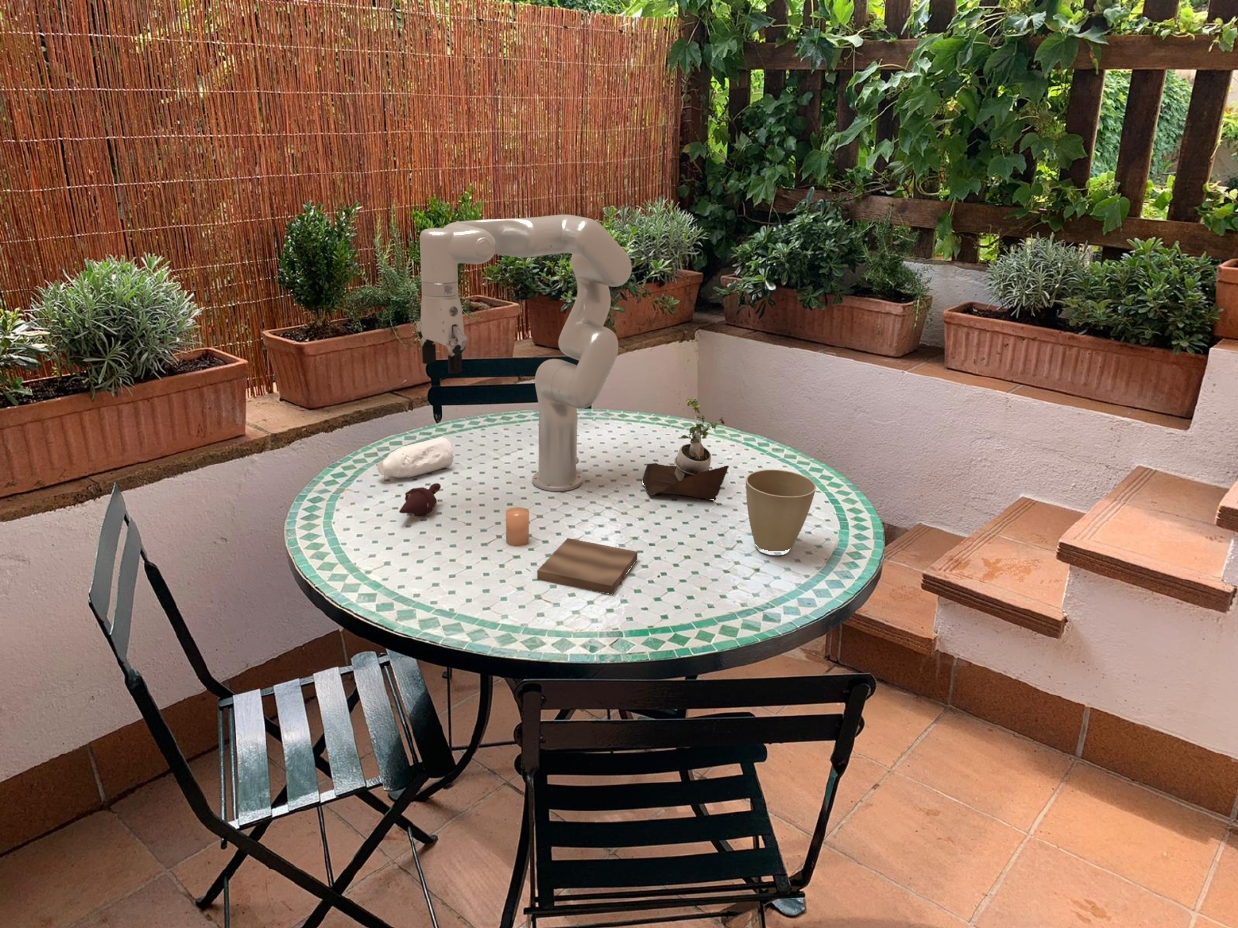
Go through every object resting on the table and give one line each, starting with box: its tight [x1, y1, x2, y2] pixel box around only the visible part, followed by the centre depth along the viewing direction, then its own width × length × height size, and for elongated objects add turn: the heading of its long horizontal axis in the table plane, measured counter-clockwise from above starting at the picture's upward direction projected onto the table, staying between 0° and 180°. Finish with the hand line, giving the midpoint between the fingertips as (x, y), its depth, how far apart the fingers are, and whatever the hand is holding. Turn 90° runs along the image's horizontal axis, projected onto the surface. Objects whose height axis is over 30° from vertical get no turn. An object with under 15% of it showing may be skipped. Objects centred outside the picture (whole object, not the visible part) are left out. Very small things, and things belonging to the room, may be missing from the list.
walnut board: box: [536, 537, 638, 595], centre depth 191 cm, size 16×16×2 cm
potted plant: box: [642, 397, 730, 501], centre depth 229 cm, size 20×19×25 cm
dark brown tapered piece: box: [398, 482, 442, 518], centre depth 211 cm, size 7×7×15 cm
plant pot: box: [745, 469, 817, 551], centre depth 200 cm, size 15×15×16 cm
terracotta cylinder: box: [505, 506, 530, 547], centre depth 201 cm, size 5×5×7 cm
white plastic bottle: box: [376, 436, 455, 479], centre depth 234 cm, size 8×19×8 cm, turn 133°
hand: (442, 367), depth 201 cm, fingers open, 9 cm apart
